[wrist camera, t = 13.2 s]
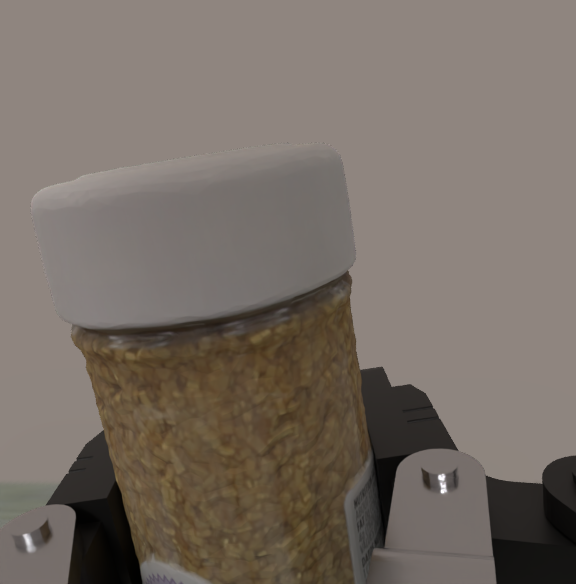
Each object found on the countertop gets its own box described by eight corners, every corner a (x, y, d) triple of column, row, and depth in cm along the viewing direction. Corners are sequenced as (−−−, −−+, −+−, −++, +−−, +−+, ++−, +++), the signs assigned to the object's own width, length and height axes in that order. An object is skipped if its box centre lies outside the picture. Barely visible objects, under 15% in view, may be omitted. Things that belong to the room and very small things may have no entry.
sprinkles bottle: (174, 936, 10) (-64, 197, 6) (251, 692, 14) (130, 171, 11) (434, 1005, 8) (301, 132, 5) (432, 714, 13) (357, 131, 9)
